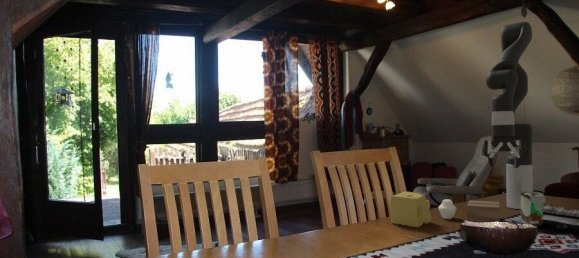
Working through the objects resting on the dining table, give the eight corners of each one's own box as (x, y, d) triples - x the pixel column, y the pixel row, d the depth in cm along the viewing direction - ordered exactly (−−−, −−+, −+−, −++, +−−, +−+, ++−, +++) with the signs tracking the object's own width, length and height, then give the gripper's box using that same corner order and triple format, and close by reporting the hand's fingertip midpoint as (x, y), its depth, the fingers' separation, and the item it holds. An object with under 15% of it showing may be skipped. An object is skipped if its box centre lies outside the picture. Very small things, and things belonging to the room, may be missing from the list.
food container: (552, 227, 143) (551, 197, 143) (531, 227, 144) (531, 196, 144) (538, 218, 155) (538, 190, 155) (519, 218, 156) (519, 190, 156)
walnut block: (469, 216, 161) (469, 200, 161) (499, 218, 156) (499, 202, 156) (467, 222, 152) (467, 205, 152) (499, 225, 147) (499, 207, 147)
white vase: (457, 220, 155) (456, 200, 155) (438, 219, 157) (438, 200, 157) (455, 216, 161) (455, 197, 161) (438, 215, 163) (438, 197, 163)
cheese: (431, 222, 154) (431, 193, 154) (417, 228, 146) (416, 198, 146) (404, 218, 161) (403, 191, 161) (389, 223, 153) (388, 195, 153)
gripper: (519, 124, 164) (520, 167, 164) (479, 124, 167) (480, 167, 166) (527, 123, 157) (528, 168, 156) (485, 124, 159) (486, 168, 159)
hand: (503, 168), depth 161 cm, fingers open, 8 cm apart
